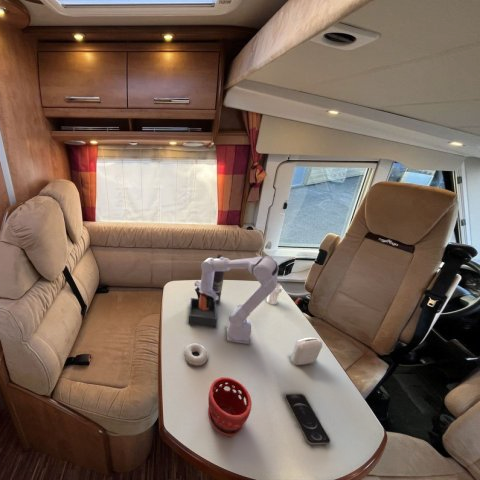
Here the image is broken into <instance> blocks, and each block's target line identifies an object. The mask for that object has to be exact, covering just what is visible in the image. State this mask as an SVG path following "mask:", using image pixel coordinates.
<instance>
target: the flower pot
mask: <svg viewBox="0 0 480 480" xmlns="http://www.w3.org/2000/svg"><path fill="white" fill-rule="evenodd" d="M227 387H228V388H229V389H228V390H227V389H225V388H227ZM207 401H208V409H207V416H208V420H209V422H210V424H211V425H212V427H213V428H214V429H215V430H216V432H218V433H219V434H221V435H224V436H227V437H233V436H236V435H238V434H239V433H240V432H241V431H242V430H243V428H244V425H245V424H246V422H247V420H248V418H249V416H250V414H251V411H252V404H253V403H252V398H251V394H250V393H249V391H248V390H247V388H246V387H245V386H244V385H243V384H242V383H241V382H239V381H238V380H236V379H234V378H231V377H227V376H226V377H225V376H224V377H219V378H216V379H215V380H213V382H212V383H211V385H210V388H209V392H208V397H207Z"/></svg>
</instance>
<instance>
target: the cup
mask: <svg viewBox="0 0 480 480" xmlns="http://www.w3.org/2000/svg"><path fill="white" fill-rule="evenodd" d="M282 290H283V286H282V284H280V283H278V282H277V286H276V287H275V289H274V290H273V291H272V292H271V293H270V294H269V295H268V296H267V297H266V302H267V303H268V304H270V305H276V304H277V302H278V299H279V296H280V294H281V292H282Z"/></svg>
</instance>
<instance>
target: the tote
mask: <svg viewBox="0 0 480 480" xmlns="http://www.w3.org/2000/svg"><path fill="white" fill-rule="evenodd" d="M217 310H218V309H217V305H216V301H213V302H212V304H211V306H210V307H209V309H208V310H201V309H200V308H199V301H198V298H195V297H190V304H189V311H188V312H189V313H188V322H187V323H188V324H190V325H194V326H195V325H196V326H202V327H209V328H215V329H216V328H217V322H218V312H217Z"/></svg>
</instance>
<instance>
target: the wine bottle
mask: <svg viewBox="0 0 480 480" xmlns="http://www.w3.org/2000/svg"><path fill="white" fill-rule="evenodd" d="M221 257H224V256H223V254H217V255H216V259H218V258H221ZM224 279H225V271H215V273H214V280H213V287H212V289H213V290H214V292H215V293H216V294H217V295H218V296H219V297H218V300H216V306H218V305H219V304H220V302H221V296H222V290H223V285H224ZM214 301H215V300H214Z"/></svg>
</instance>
